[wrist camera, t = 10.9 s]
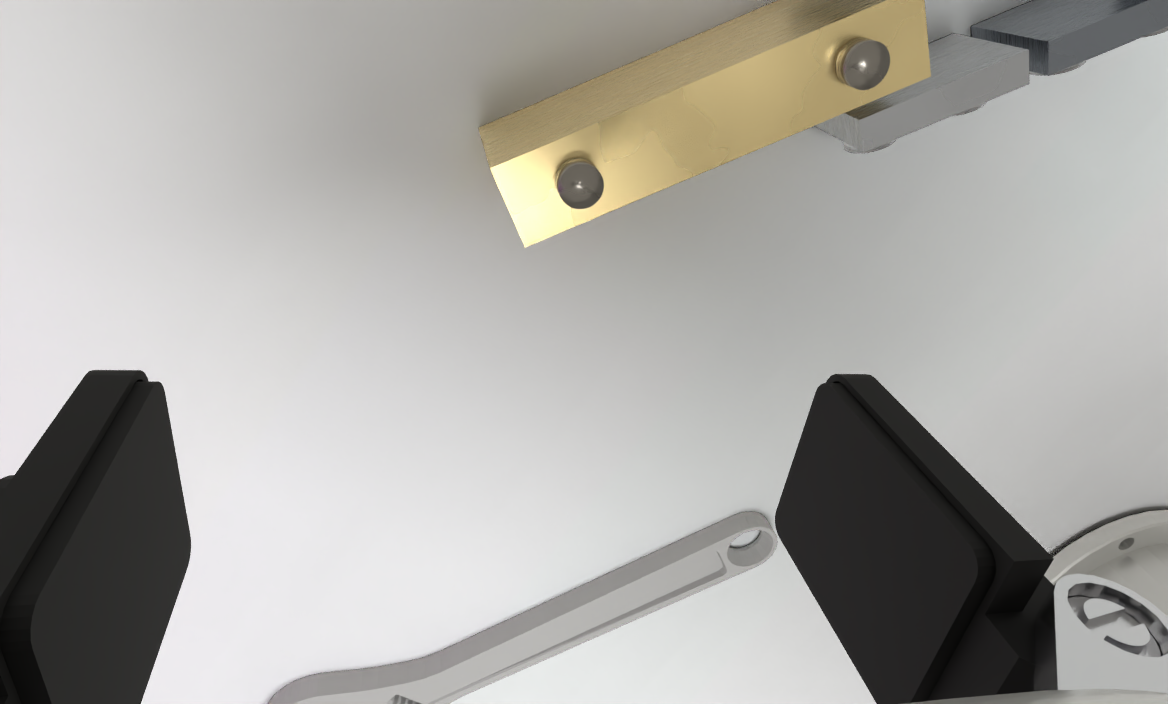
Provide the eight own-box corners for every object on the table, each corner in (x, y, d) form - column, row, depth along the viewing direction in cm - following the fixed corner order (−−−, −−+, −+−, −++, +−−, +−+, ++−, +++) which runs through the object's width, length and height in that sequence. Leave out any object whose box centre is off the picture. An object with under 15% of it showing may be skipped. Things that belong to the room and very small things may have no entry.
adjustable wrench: (757, 492, 34) (773, 519, 32) (780, 580, 37) (796, 607, 36) (246, 692, 34) (238, 728, 32) (316, 761, 37) (312, 797, 36)
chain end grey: (956, 81, 25) (1029, 103, 22) (813, 140, 25) (866, 170, 22) (941, -157, 21) (1026, -169, 18) (773, -86, 21) (830, -87, 18)
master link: (849, 50, 24) (944, 80, 20) (508, 195, 24) (527, 256, 20) (838, -27, 23) (937, -14, 18) (477, 126, 23) (492, 174, 19)
